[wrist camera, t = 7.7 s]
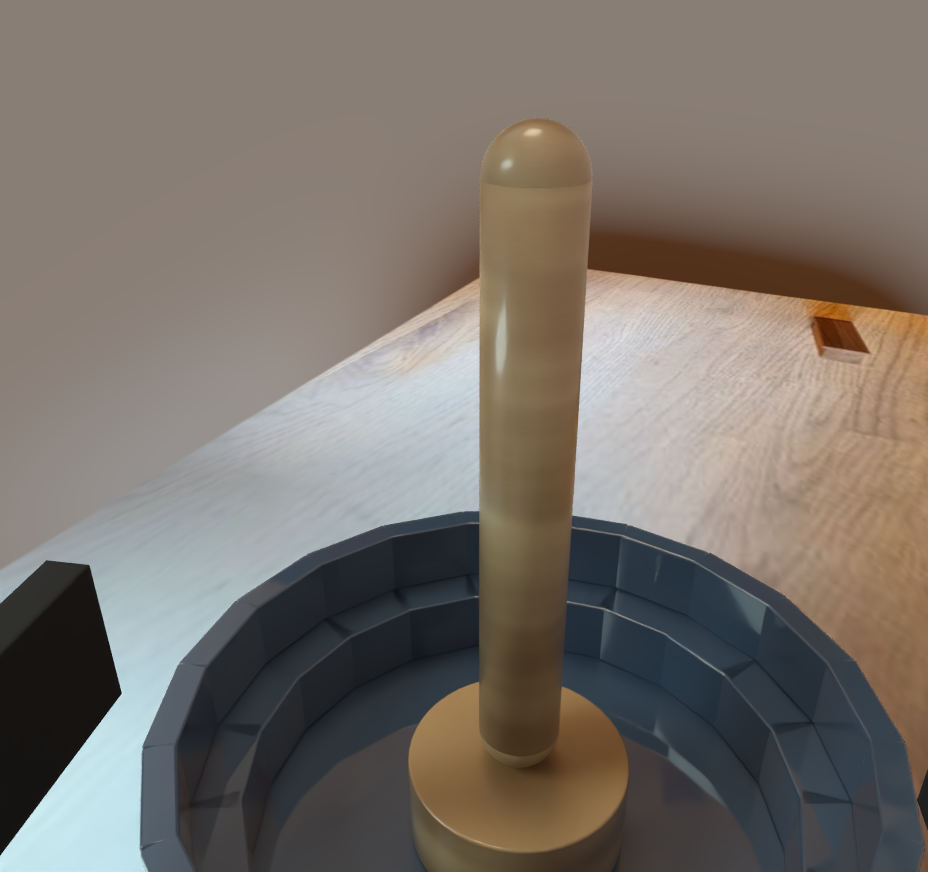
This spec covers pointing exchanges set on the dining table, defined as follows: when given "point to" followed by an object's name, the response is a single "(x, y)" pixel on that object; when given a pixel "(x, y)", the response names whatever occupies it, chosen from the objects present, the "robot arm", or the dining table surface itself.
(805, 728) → the dark grey round dish
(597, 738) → the beech masher
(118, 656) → the dining table surface
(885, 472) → the dining table surface
